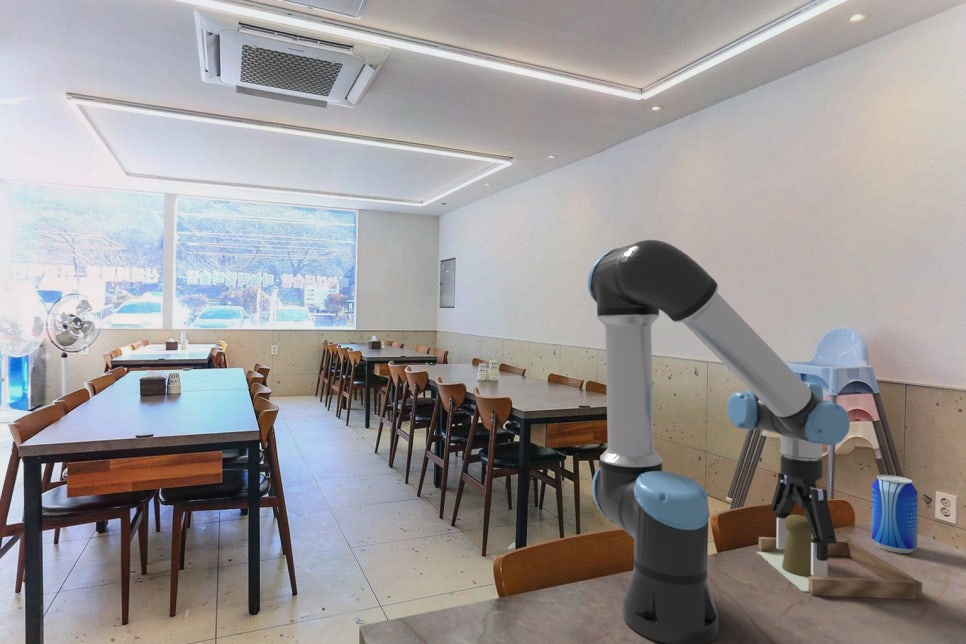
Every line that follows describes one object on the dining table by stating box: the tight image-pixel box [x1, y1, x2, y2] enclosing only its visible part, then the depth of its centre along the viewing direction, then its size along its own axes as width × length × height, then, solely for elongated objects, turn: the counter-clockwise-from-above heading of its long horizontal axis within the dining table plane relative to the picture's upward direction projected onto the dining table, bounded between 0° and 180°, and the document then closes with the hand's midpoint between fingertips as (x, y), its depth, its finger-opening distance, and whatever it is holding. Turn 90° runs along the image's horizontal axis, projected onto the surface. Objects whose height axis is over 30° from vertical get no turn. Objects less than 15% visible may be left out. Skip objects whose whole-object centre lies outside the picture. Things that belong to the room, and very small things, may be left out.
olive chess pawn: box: [782, 514, 812, 577], centre depth 111 cm, size 6×6×11 cm
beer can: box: [871, 474, 918, 554], centre depth 125 cm, size 8×8×16 cm
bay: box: [758, 536, 923, 601], centre depth 111 cm, size 20×21×3 cm
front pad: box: [756, 551, 831, 593], centre depth 111 cm, size 9×18×1 cm, turn 178°
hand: (800, 561), depth 111 cm, fingers open, 12 cm apart
